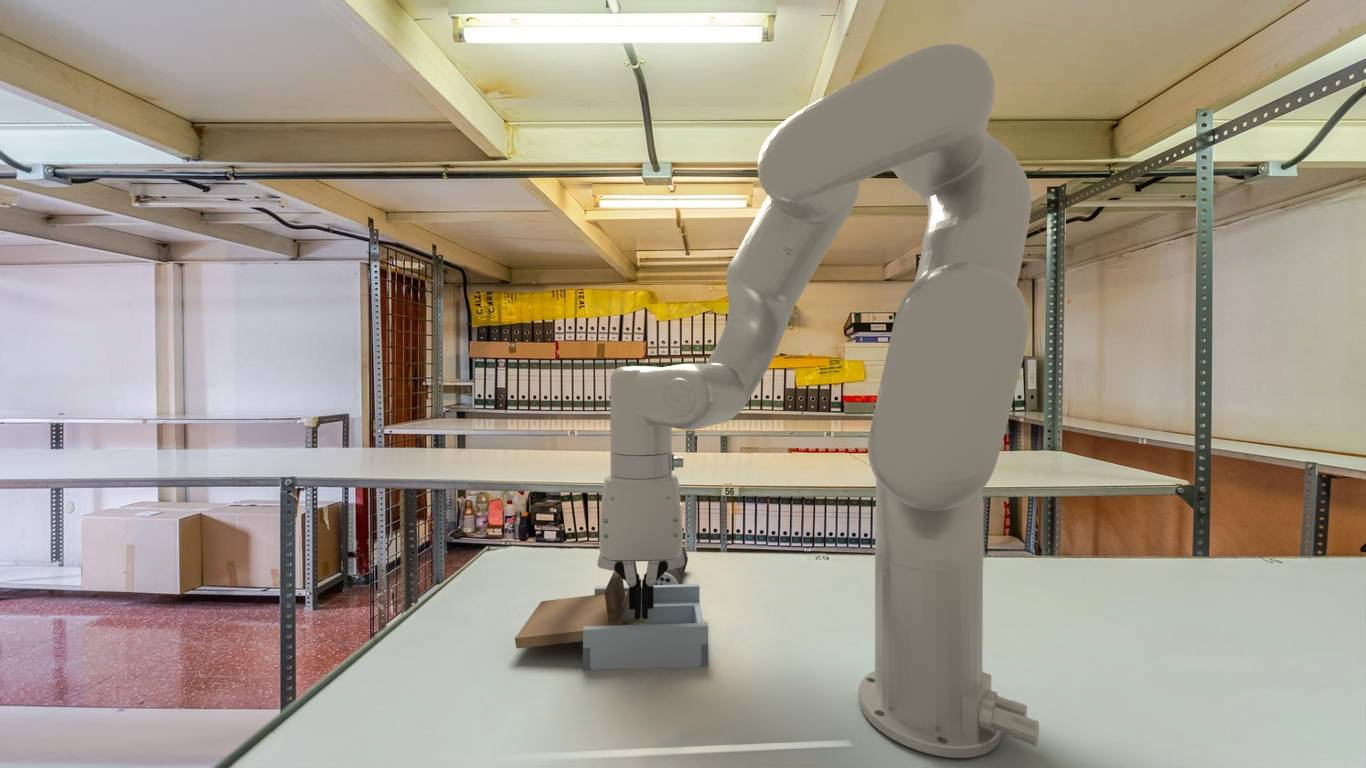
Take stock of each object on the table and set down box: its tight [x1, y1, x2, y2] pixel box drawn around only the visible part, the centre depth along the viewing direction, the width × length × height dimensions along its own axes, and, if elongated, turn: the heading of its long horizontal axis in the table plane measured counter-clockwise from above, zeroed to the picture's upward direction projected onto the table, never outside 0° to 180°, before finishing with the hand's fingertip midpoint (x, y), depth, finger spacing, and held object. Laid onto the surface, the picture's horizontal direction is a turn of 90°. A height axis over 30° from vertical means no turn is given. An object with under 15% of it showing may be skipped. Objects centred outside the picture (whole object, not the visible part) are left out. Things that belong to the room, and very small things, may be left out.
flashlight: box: [655, 547, 689, 585], centre depth 82 cm, size 15×5×5 cm, turn 174°
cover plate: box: [514, 571, 629, 649], centre depth 64 cm, size 12×10×5 cm
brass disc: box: [622, 621, 650, 625], centre depth 66 cm, size 4×4×1 cm
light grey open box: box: [582, 583, 709, 671], centre depth 64 cm, size 14×12×5 cm
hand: (641, 613), depth 64 cm, fingers closed
